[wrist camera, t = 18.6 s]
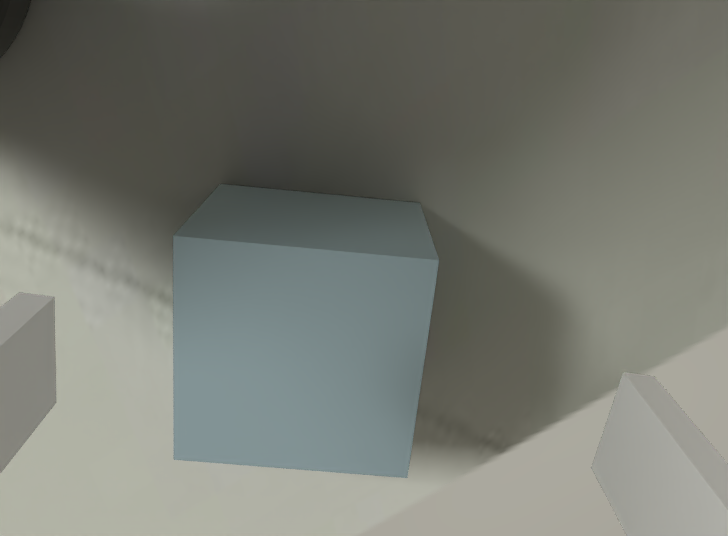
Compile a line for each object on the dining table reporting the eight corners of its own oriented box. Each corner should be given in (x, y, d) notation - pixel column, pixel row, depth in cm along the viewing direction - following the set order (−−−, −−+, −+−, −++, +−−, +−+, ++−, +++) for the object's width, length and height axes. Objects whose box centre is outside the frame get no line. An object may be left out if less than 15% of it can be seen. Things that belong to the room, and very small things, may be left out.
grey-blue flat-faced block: (216, 362, 36) (173, 459, 28) (220, 183, 33) (173, 235, 25) (397, 377, 37) (407, 478, 29) (419, 203, 33) (439, 260, 25)
